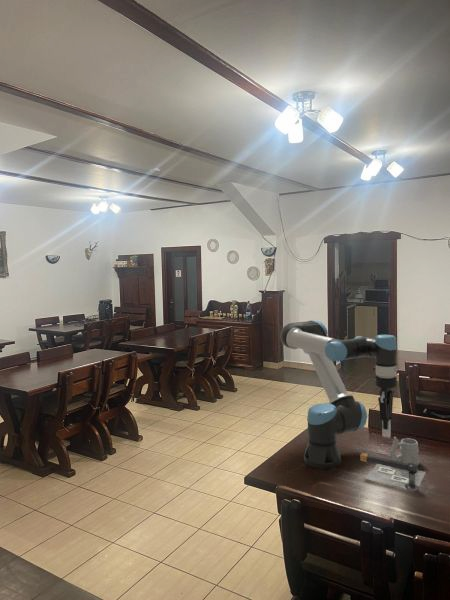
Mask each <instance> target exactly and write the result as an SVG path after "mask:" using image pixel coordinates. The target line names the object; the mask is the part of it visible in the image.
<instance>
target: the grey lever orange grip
mask: <svg viewBox="0 0 450 600" xmlns="http://www.w3.org/2000/svg"><path fill="white" fill-rule="evenodd" d="M359 458H360V462H365V463H367V462H368V463H373V464H376V465H377V464H381V465H385V466H389V467H394V468H398V469H403V470H407V472H409V473H417V470H418V466H417V465H416V464H414V463H408V464H407V463H402V462H400V461H399V460H398V461H393V460H392V459H388V458H383V457H379V456H374V455H371V454H369V453H365V452H362V453H361V454H360V455H359Z"/></svg>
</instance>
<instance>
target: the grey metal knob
mask: <svg viewBox="0 0 450 600" xmlns="http://www.w3.org/2000/svg"><path fill="white" fill-rule="evenodd" d="M405 488H406V490H409V491H413V492H417V491H419V490H420V485H419V486H417V485H415V473H409V484H406V485H405ZM405 488H404V489H405ZM416 490H417V491H416Z"/></svg>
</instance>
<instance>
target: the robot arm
mask: <svg viewBox="0 0 450 600" xmlns="http://www.w3.org/2000/svg"><path fill="white" fill-rule="evenodd" d="M279 338H280V342H281V343H282V345H283V346H285V348H289V349H292V350H298V349H301V350H303V353H304V354H307V355H308V356H309V358H310V361H311V362H312V365H313V367H314V369H315V372H316V374H317V376H318V378H319V380H320V383H321V385H322V387H323V389H324V392H325V394H326V396H327V398H328V400H329V402H328V403H327V402H324V403H323V402H321V403H316V404H313V405H311V406H310V407H309V409H308V410H307V418H306V420H307V444H306V449H305V451H304V454H303V462H304V464H305V465H306V466H308V467H311V468H314V469H318V470H330V469H331V468H335V467H337V466H339V465H340V464H341V462H342V456H341V453H340V450H339V447H338V445H337V436H339V435H343V434H347V433H351V432H356V431H357V430H361V429H363V428H364V427H365V426H366V423H367V419H368V414H367V413H368V412H367V409H366V407H365V404H363V403H362V402H361V401H358V400H356V399H355V397H354V395H352V394H350V393H348V391H347V389H346V387H345V384H344V383H343V380H342V379H341V376H340V374H339V372H338V369H337V367H336V365H335V363H334V362H341V361H345V360H347V361H348V360H353V359H359V358H360V359H361V358H365V357H366V358H367V357H368V358H373V359H375V375H376V376H375V386H376V387H378V388H380V390H379V397H378V398H377V400H378V405H379V420H380V421H382V422H381V423H382V424H381V425H382V427H381V433H382V435H381V436H382V437H383V438H391V435H392V434H391V433H392V432H391V430H392V429H391V423H392V422H391V420H393V419H394V417H393V408H394V407H393V406H394V405H393V404H394V393H395V391H394V388H396V387H397V384H398V383H397V382H398V378H397V373H398V371H399V368H397V367H398V366H397V364H398V363H397V355H398V351H397V350H398V346H397V345H398V344H397V338H396V336H395V335H393V334H378V335H376V336H375V338H373V337H368V336H366V335H365V336H364V335H362V336H361V335H358V336H355V337H354V338H350V339H342V340H341V339H337V338H333V337H329V332H328V329H327V327H326V326H325V324H324V323H322V321H319V320H307V321H299V322H290V323H288V324H285V325H284V326H283V327H282V329H281V330H280V332H279Z"/></svg>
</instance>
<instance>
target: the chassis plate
mask: <svg viewBox="0 0 450 600" xmlns="http://www.w3.org/2000/svg"><path fill="white" fill-rule="evenodd" d="M380 467H384V468H388V469H393V470H396V472H395V474H394V475H396V476H400V477H405V478H409V472H407V470H403V469H398V468H394V467H389V466H385V465H381V464H376V465H375V466H374V468H373V469H372V471H371V472H369V474H368V475H367V477H366V480H369V481H373V482H377V483H380V484H385V485H390V486H393V487H396V488H400V489H401V488H402V489H406V488H405V485H406V484H404V483H400V482H396V481H392V480H390V479H391V477H392V476H393V475H390V474H385V473H381V472H377V471H378V469H379V468H380ZM426 473H427V471H423V470H419V469H417V473H415V485H417V486H419V487H420V485H421V483H422V481H423V479H424V477H425V475H426ZM407 484H409V482H408V483H407ZM406 490H407V489H406ZM417 491H418V490H416V491H415V492H417Z"/></svg>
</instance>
